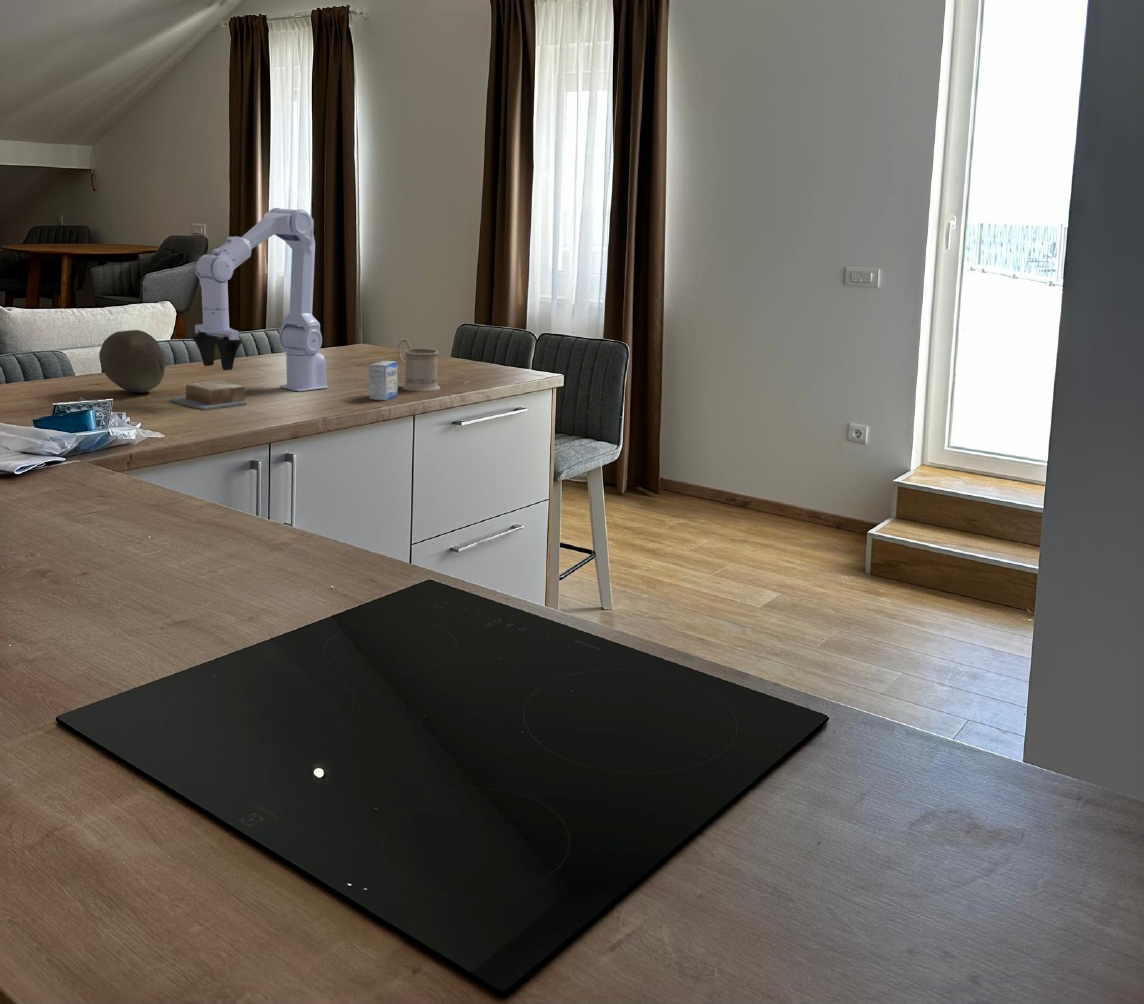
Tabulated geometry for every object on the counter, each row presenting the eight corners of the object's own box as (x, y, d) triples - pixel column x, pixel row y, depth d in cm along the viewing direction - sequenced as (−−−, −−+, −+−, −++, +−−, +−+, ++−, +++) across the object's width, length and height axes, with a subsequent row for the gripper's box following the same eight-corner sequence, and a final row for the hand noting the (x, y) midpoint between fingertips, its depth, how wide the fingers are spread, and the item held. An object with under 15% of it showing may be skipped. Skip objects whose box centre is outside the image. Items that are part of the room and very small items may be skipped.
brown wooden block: (219, 380, 264) (185, 383, 257) (244, 385, 258) (210, 389, 251) (220, 394, 265) (186, 398, 258) (244, 400, 259) (210, 405, 252)
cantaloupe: (150, 386, 275) (147, 325, 271) (176, 394, 265) (173, 331, 261) (93, 391, 265) (88, 328, 261) (118, 400, 256) (113, 335, 252)
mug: (447, 389, 289) (448, 342, 286) (418, 392, 282) (418, 345, 279) (412, 381, 298) (413, 336, 295) (383, 384, 291) (383, 338, 288)
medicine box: (386, 401, 269) (386, 365, 267) (369, 399, 270) (368, 364, 268) (397, 395, 276) (397, 361, 274) (380, 394, 277) (380, 359, 275)
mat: (211, 395, 266) (211, 393, 265) (246, 404, 257) (246, 402, 257) (170, 401, 257) (170, 398, 257) (204, 410, 249) (204, 408, 249)
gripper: (182, 306, 255) (185, 365, 259) (218, 312, 246) (220, 373, 250) (209, 305, 260) (211, 362, 264) (245, 311, 252) (247, 370, 255)
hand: (218, 367), depth 257 cm, fingers open, 7 cm apart
